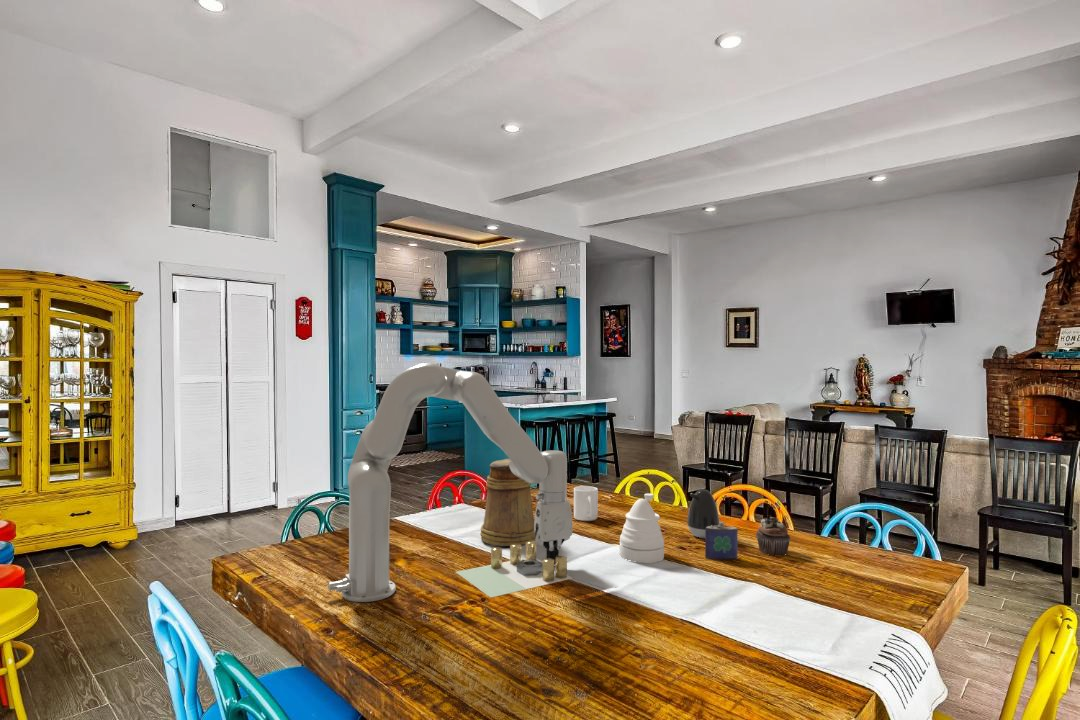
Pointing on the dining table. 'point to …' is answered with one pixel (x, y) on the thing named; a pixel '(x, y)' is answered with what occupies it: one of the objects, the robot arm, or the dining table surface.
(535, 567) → the nut
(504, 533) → the tankard
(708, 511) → the penguin figurine
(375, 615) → the dining table surface
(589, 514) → the mug
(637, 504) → the honey pot
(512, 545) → the spacers
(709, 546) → the flask
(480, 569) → the mat
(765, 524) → the cupcake
